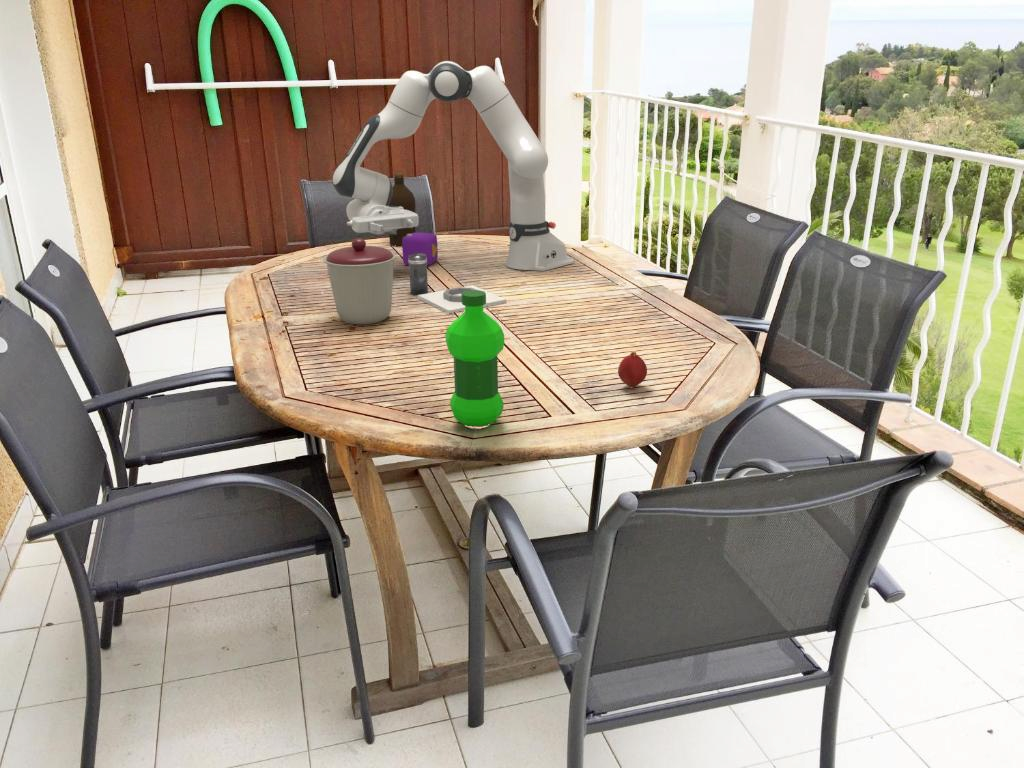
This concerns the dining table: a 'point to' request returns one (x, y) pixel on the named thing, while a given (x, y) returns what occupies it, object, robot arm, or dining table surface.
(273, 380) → the dining table surface
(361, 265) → the canister
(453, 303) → the mount board
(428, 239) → the toy camera
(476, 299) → the plastic bottle
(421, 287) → the lens tube
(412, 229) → the olive oil
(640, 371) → the onion
